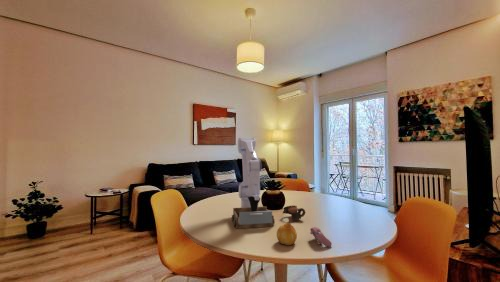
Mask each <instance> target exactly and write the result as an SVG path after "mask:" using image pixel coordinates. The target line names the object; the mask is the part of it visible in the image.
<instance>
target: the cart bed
mask: <svg viewBox="0 0 500 282" xmlns="http://www.w3.org/2000/svg"><path fill="white" fill-rule="evenodd" d="M267 208H268V207H267V206H258V207H257V211H269V210H268V209H267ZM232 210H233V211H232V212H233V213H232V215H231V221H232V222H233V227H234V228H236V229H238V230H239V229H250V228H251V229H253V228H269V227H274V226H275V217H274V215H273V214H272V223H262V224H245V225H240V224H239V212H252V211H251V207H245V208H241V207H233V209H232Z"/></svg>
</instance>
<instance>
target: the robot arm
mask: <svg viewBox="0 0 500 282" xmlns="http://www.w3.org/2000/svg"><path fill="white" fill-rule="evenodd" d="M255 148H256V138H255V137H238V139H237V151H238V153H239V154H241V159H242V160H241V162H242V181H241V182H240V183H239V184H238V197H239V199H241V202H240V205H241V206H240V208H245V207H251V211H252V212H255V211H257V207H259V202H260V201H261V198H260V195H261V171H262V161H261V159H260V158H258V153H257V152H256V151H255Z"/></svg>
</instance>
